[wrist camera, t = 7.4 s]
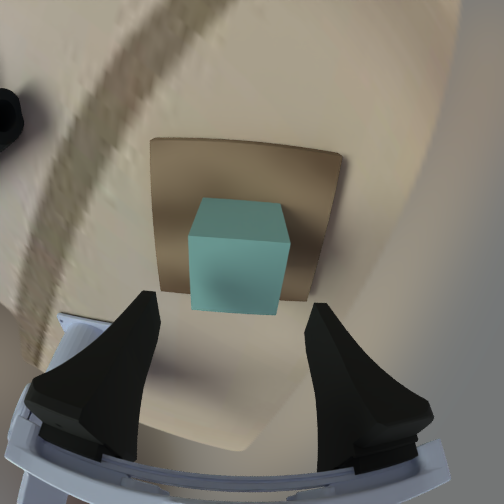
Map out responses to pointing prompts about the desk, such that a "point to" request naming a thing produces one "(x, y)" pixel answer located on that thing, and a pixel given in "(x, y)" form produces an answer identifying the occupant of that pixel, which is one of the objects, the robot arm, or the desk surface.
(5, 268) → the desk surface
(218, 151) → the base plate
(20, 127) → the pipe connector
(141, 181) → the desk surface
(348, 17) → the desk surface
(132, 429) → the robot arm
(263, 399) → the desk surface
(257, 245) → the teal cube
